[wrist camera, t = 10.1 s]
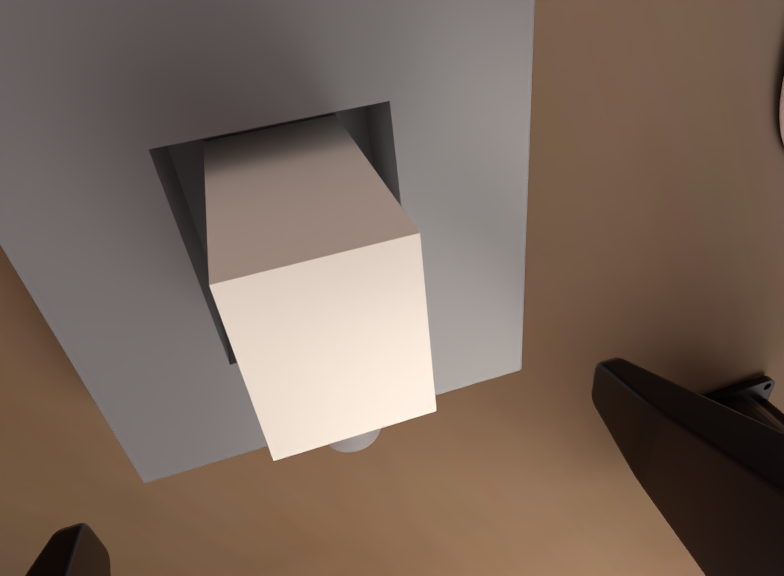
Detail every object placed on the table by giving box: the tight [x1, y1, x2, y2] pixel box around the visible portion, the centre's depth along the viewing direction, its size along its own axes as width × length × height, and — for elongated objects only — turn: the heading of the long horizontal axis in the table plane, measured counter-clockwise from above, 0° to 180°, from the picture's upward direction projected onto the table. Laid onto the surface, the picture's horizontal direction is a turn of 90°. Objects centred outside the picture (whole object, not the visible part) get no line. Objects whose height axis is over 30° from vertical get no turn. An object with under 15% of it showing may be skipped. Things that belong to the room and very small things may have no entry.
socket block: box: [0, 0, 535, 483], centre depth 17 cm, size 14×15×4 cm
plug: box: [203, 115, 436, 461], centre depth 15 cm, size 4×6×8 cm, turn 6°
